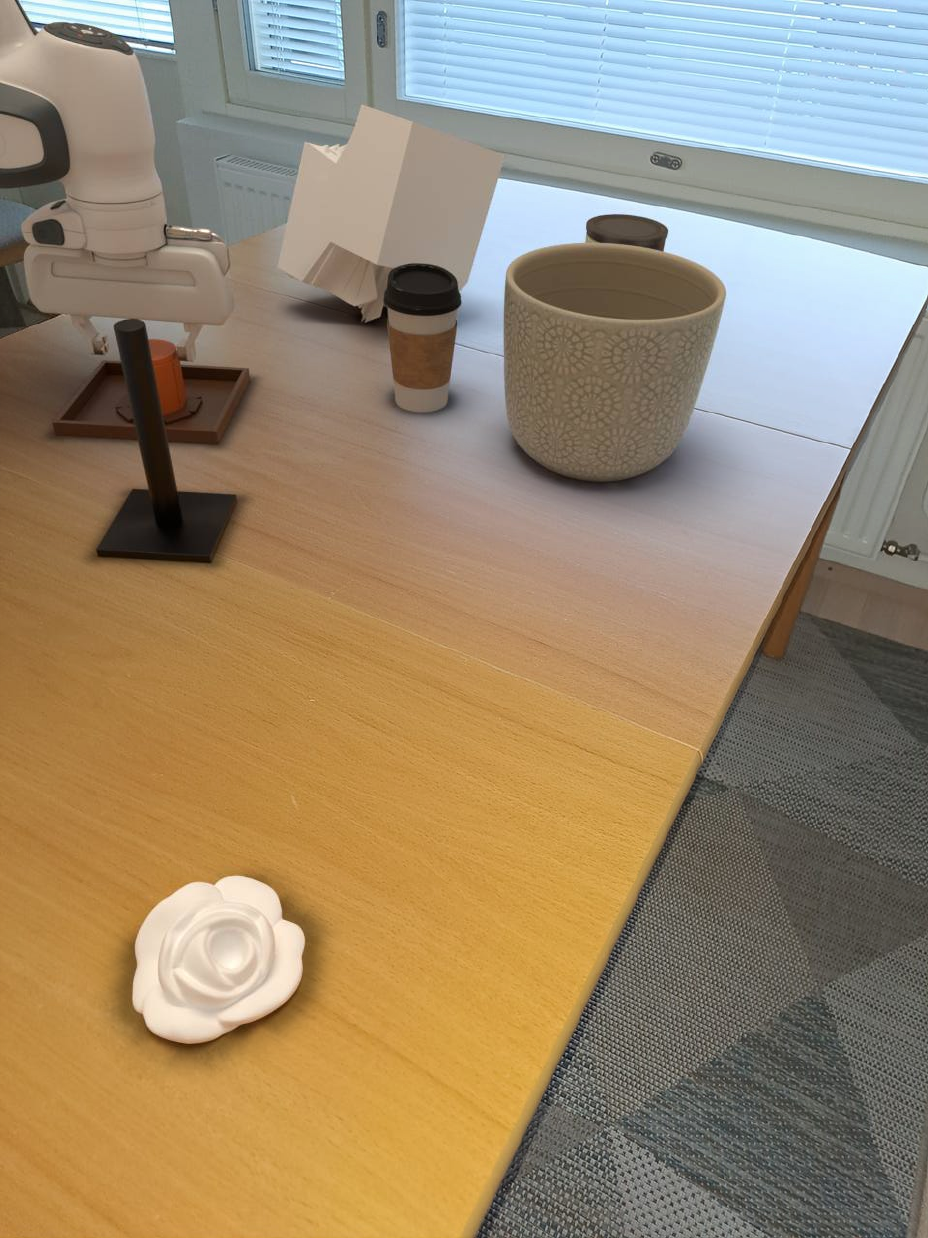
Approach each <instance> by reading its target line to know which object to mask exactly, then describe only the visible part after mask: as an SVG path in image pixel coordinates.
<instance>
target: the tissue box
mask: <svg viewBox="0 0 928 1238" xmlns="http://www.w3.org/2000/svg"><path fill="white" fill-rule="evenodd" d="M357 114H358V115H357V118H356V121H355V124H354V128H353V130H352V133H351V135H350V137H349V140H348V141H347V143H345V144H344V145H341V144H340V143H337V144H335V145H332V146H329V145H328V144H325V145H317V144H314V143H311V142H308V141H304V142H303V143H304V144H303V147H302V153H301V157H300V162H299V166H298V171H297V176H296V180H295V185H294V189H293V194H292V198H291V203H290V207H289V212H288V216H287V220H286V221H287V222H286V225H285V230H284V235H283V239H282V243H281V248H280V253H279V258H278V262H277V265H276V266H277V269H279V270H281V271H283V272H284V273H285V275H287V276H288V277H290V278H291V279H294V280H297V281H299V282H302V283H304V284H307V285H310V286H312V287H315V288H320V289H322V290H325V291H327V292H329V293H330V294H332V295H333V296H335V297H337V298H339V299H340V300H341V301H344V302H345V303H347V304H349V305H351V306H353V307H358V309H360V310H361V311H360V313H361V314H362V317H361V320H360V323H362V322H364V323H368V322H370V321H374V320H375V319H378V318H381V315H382V311H383V309H384V308H388V307H387V306H386V305H385V304H384V302H383V299H384V292H385V290H386V289H387V281H388V275H389V272H390V271H391V270H392V269H394V268H396V267H398V266H401V265H405V264H411V263H422V264H431V265H436V266H439V267H442V268H444V269H446V270H448V271H449V272H450V273H452V274H453V275H454V276H455V277H456V279H457V282H458V290H459V292H460V293H461V291H462V290H463V289H464V287H465V286H466V285H467V284H468V283H469V282H468V281H469V279H470V276H471V272H472V269H473V265H474V261H475V258H476V255H477V251H478V249H479V245H480V242H481V238H482V235H483V231H484V229H485V228H484V227H485V225H486V220H487V218H488V214H489V211H490V208H491V204H492V201H493V197H494V193H495V190H496V187H497V183H498V180H499V177H500V173H501V170H502V167H503V164H504V160H505V156H506V154H503V153H500V152H498V151H495V150H492V149H489V148H487V147H484V146H481V145H479V144H476V143H473V142H470V141H467V140H464V139H462V138H459V137H457V136H455V135H454V136H453V135H451V134H448V133H445V132H443V131H439V130H437V129H435V128H431V127H430V126H429V127H428V126H426V125H424V124H421V123H417V122H414V121H412V120H409V119H406V118H403V117H401V116H397V115H394V114H391V113H388V112H386V111H383V110H379V109H377V108H374V107H371V106H367V105H366V104H361V105H360V108H359V111H358V113H357ZM340 145H341V146H340Z"/></svg>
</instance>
